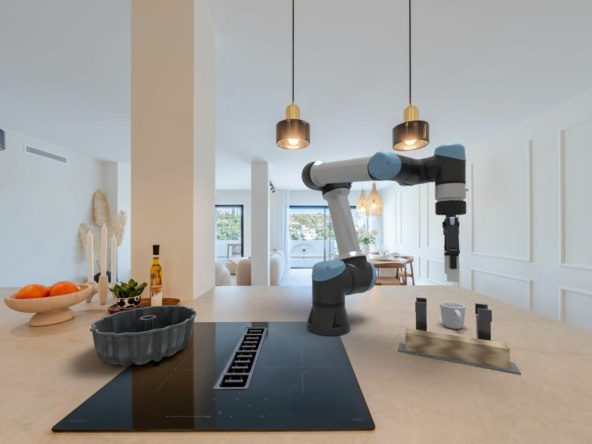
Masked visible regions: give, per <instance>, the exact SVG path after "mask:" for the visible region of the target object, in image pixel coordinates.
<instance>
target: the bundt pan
mask: <svg viewBox="0 0 592 444" xmlns="http://www.w3.org/2000/svg"><path fill="white" fill-rule="evenodd" d="M197 315H198V314H197V310H194V308H191V307H188V306H185V305H172V304H171V305H168V304H167V305H153V306H145V307H137V308H132V309H129V310H123V311H118V312H115V313H112V314H110V315H107V316H102V317H101V318H100V319H98V320H95V321H94V322H92V323H91V327H90V328H89V331H90V332H91V333H92V334H91V335H92V340H93V345H94V350H95V355H96V356H97V357H98V358H99V359H100V360H102V361H104V362H106V363H108V364H110V365H121V366H122V367H129V366H131V365H133V364H134V365H137V366H139V365H140V366H141V365H145V364H147V363H149V362H151V361H154V362H156V363H158V362H160V361H161V360H162V359H163V358H168V357H170V356H173V355H175V354H176V353H177V352H181V351H182V350H183V349H184V348H186V347H187V345H188V343H189V341H190V339H191V337H192V335H193V330H194V323H195V318H196V316H197Z"/></svg>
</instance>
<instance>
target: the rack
mask: <svg viewBox="0 0 592 444" xmlns="http://www.w3.org/2000/svg"><path fill="white" fill-rule="evenodd" d="M427 300H428V299H427V298H426V297H418V296H416V299H415V302H414V304H415V306H414V308H415V309H414V310H415V329H416V330H422V331H428V324H427V323H428V322H427V321H428V320H427V317H428V314H427V313H428V311H427V307H428V305H427ZM474 314H475V322H476V323H475V324H476V326H475V327H476V329H475V331H476V335H475V336H476V339H482V340H489V341H492V330H491V329H492V325H491V324H492V322H493V311H492V309H489V307H488V304H487V303H479V302H478V303H477V302H476V303H474Z"/></svg>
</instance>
